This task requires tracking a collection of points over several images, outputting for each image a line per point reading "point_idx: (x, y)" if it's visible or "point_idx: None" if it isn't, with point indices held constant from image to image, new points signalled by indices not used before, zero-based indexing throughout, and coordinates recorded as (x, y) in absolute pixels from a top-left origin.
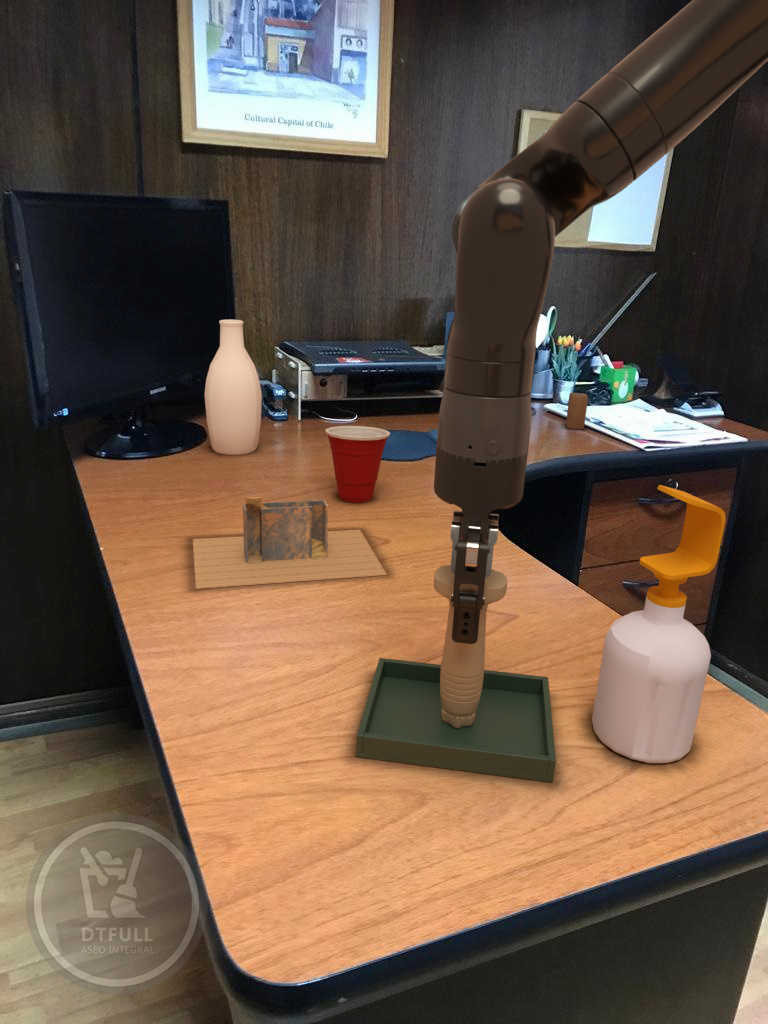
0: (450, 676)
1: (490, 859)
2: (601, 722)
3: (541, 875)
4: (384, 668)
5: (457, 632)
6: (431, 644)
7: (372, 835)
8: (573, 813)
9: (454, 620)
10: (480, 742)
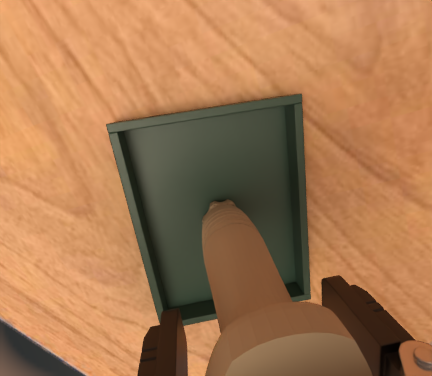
0: (205, 243)
1: (38, 285)
2: None
3: (43, 322)
4: (289, 105)
5: (143, 344)
6: (382, 141)
7: (4, 181)
8: (130, 330)
9: (157, 351)
10: (190, 246)
